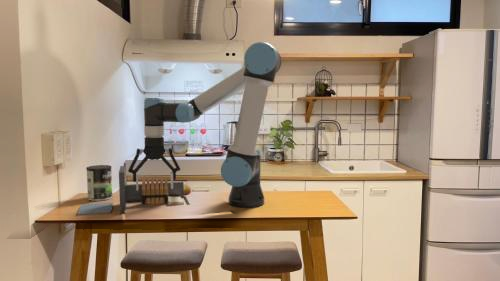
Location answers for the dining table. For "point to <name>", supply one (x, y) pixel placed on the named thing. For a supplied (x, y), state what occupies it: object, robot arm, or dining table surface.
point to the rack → (136, 195)
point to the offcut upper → (175, 200)
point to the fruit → (186, 189)
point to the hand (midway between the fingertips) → (154, 188)
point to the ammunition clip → (155, 192)
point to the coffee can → (99, 182)
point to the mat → (95, 208)
